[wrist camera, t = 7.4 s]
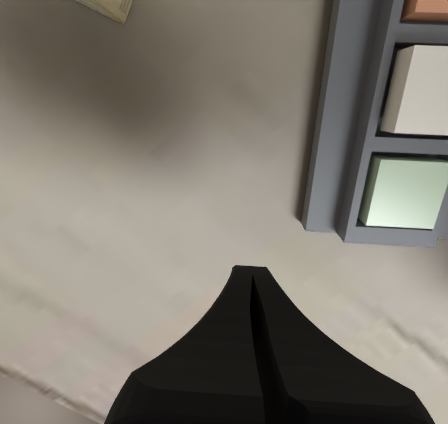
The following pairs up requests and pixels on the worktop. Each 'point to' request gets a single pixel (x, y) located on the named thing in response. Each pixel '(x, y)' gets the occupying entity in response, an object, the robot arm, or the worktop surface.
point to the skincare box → (110, 8)
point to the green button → (403, 191)
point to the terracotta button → (425, 11)
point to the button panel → (365, 121)
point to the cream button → (418, 92)
